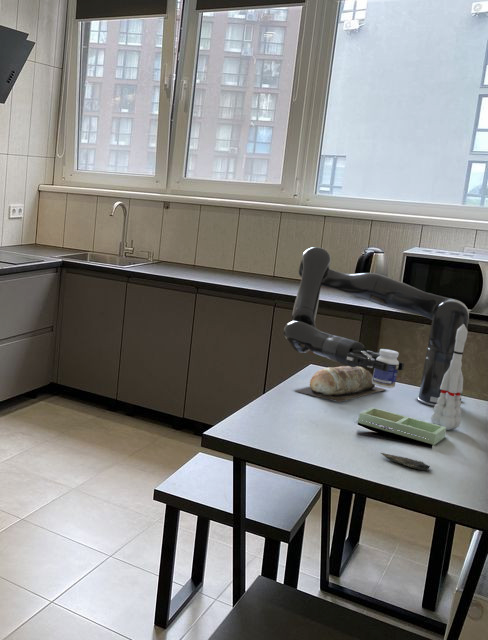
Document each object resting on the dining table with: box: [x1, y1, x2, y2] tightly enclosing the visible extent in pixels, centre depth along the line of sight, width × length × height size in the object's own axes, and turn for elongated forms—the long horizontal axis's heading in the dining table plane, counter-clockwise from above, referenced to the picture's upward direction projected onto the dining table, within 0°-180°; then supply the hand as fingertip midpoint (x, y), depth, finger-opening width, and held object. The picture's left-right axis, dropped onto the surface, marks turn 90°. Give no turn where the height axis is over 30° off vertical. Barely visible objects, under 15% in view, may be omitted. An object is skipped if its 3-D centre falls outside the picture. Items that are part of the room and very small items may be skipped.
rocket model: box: [430, 324, 469, 431], centre depth 207 cm, size 7×7×30 cm
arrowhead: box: [380, 452, 431, 471], centre depth 176 cm, size 7×10×1 cm
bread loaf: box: [296, 365, 387, 403], centre depth 239 cm, size 35×18×9 cm, turn 136°
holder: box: [357, 406, 447, 446], centre depth 203 cm, size 10×19×3 cm, turn 45°
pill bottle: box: [372, 348, 400, 389], centre depth 205 cm, size 6×6×10 cm
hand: (394, 367), depth 203 cm, fingers closed on pill bottle, 5 cm apart
